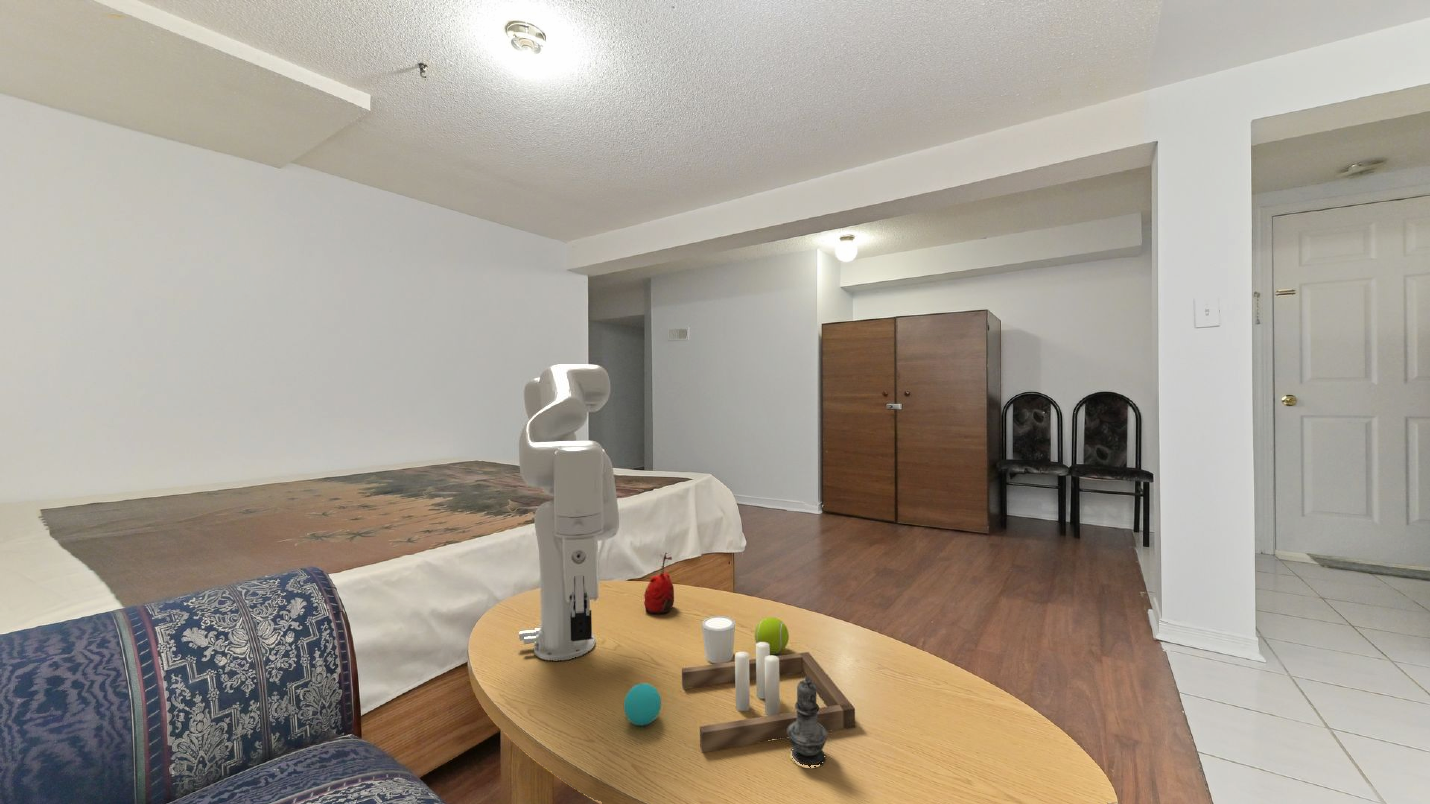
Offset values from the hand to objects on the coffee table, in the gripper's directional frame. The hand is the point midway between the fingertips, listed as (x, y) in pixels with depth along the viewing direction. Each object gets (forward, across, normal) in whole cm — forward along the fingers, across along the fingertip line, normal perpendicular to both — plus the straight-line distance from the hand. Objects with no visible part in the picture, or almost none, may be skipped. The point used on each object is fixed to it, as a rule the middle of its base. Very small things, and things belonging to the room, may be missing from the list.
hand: (581, 637), depth 84 cm
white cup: (+15, +18, -26) cm, 36 cm away
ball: (+12, 0, -10) cm, 15 cm away
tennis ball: (+15, +17, -38) cm, 44 cm away
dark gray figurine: (+15, -14, -32) cm, 39 cm away
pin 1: (+15, +2, -31) cm, 35 cm away
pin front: (+15, 0, -26) cm, 31 cm away
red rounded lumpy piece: (+15, +44, -18) cm, 50 cm away
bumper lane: (+15, 0, -30) cm, 34 cm away
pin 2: (+15, -2, -31) cm, 35 cm away
